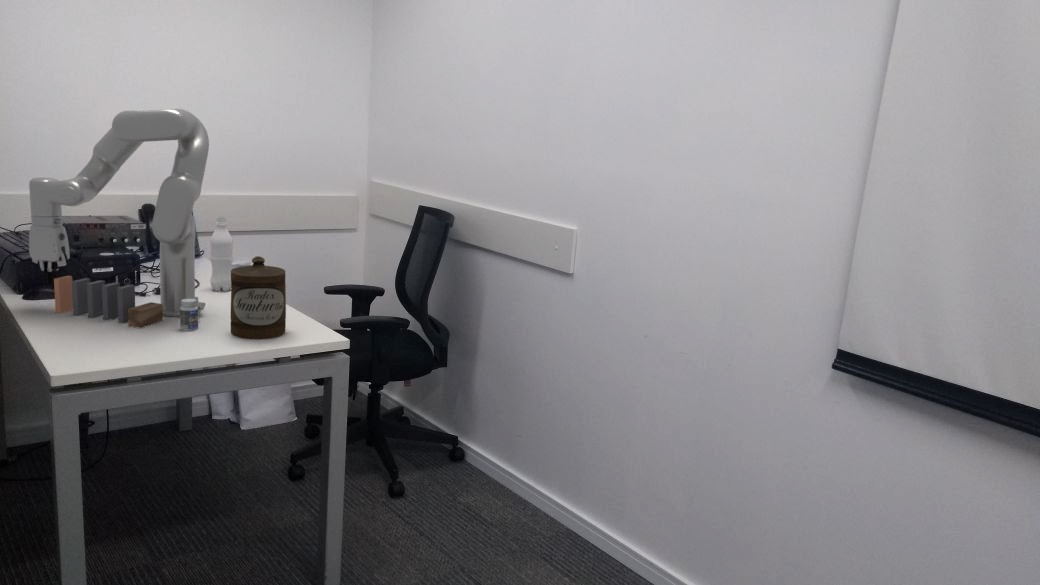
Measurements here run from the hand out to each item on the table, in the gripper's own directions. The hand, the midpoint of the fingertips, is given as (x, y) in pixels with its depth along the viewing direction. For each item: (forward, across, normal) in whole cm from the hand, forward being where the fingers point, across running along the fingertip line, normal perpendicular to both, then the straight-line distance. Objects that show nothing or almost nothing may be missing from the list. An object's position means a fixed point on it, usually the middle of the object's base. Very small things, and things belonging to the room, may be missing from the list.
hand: (50, 283), depth 225 cm
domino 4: (+8, -21, 0) cm, 22 cm away
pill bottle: (+8, -45, -1) cm, 46 cm away
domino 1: (+8, -4, 0) cm, 9 cm away
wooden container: (+8, -63, -7) cm, 64 cm away
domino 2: (+8, -11, 0) cm, 13 cm away
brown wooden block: (+8, -32, 0) cm, 33 cm away
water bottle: (+8, -25, -46) cm, 53 cm away
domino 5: (+8, -26, 0) cm, 27 cm away
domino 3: (+8, -16, 0) cm, 17 cm away
